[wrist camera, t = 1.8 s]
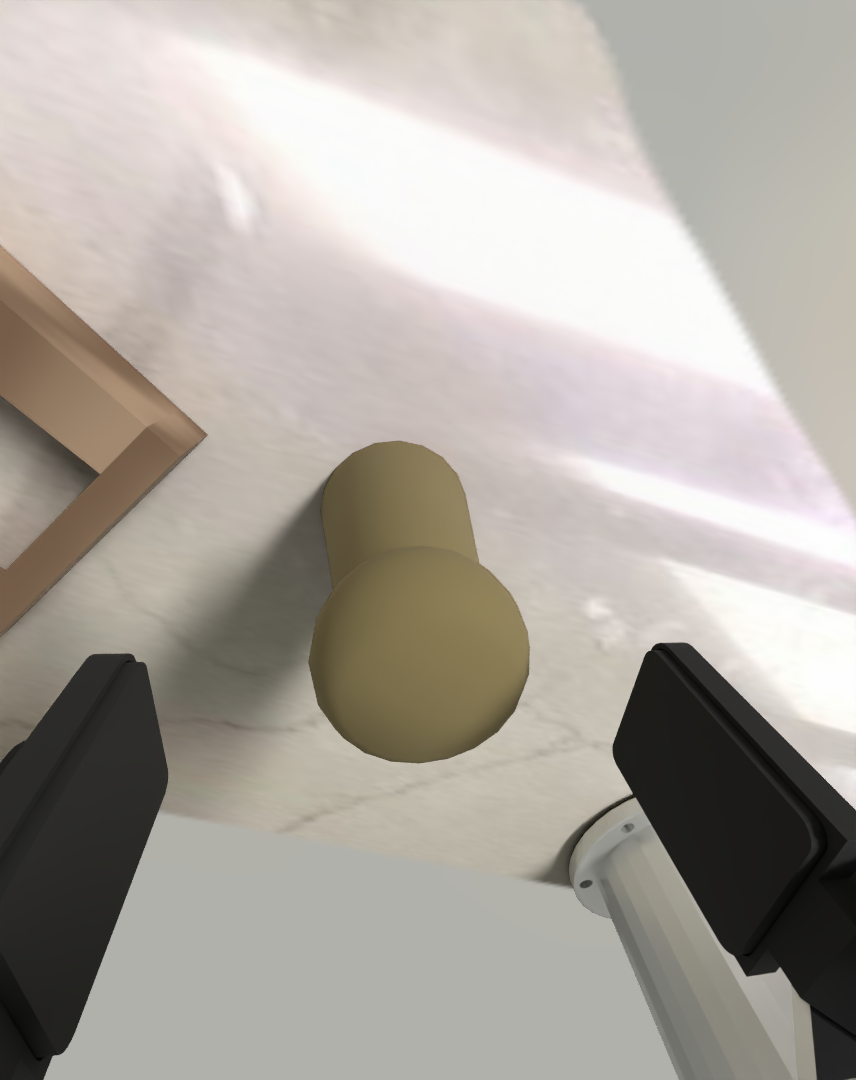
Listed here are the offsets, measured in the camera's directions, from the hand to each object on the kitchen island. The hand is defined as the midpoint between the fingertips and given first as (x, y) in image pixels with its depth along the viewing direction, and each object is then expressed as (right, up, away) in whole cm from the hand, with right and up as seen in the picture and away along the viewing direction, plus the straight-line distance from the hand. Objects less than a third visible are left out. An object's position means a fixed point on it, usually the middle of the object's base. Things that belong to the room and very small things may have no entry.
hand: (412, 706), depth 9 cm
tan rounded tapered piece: (-1, +4, +11) cm, 12 cm away
